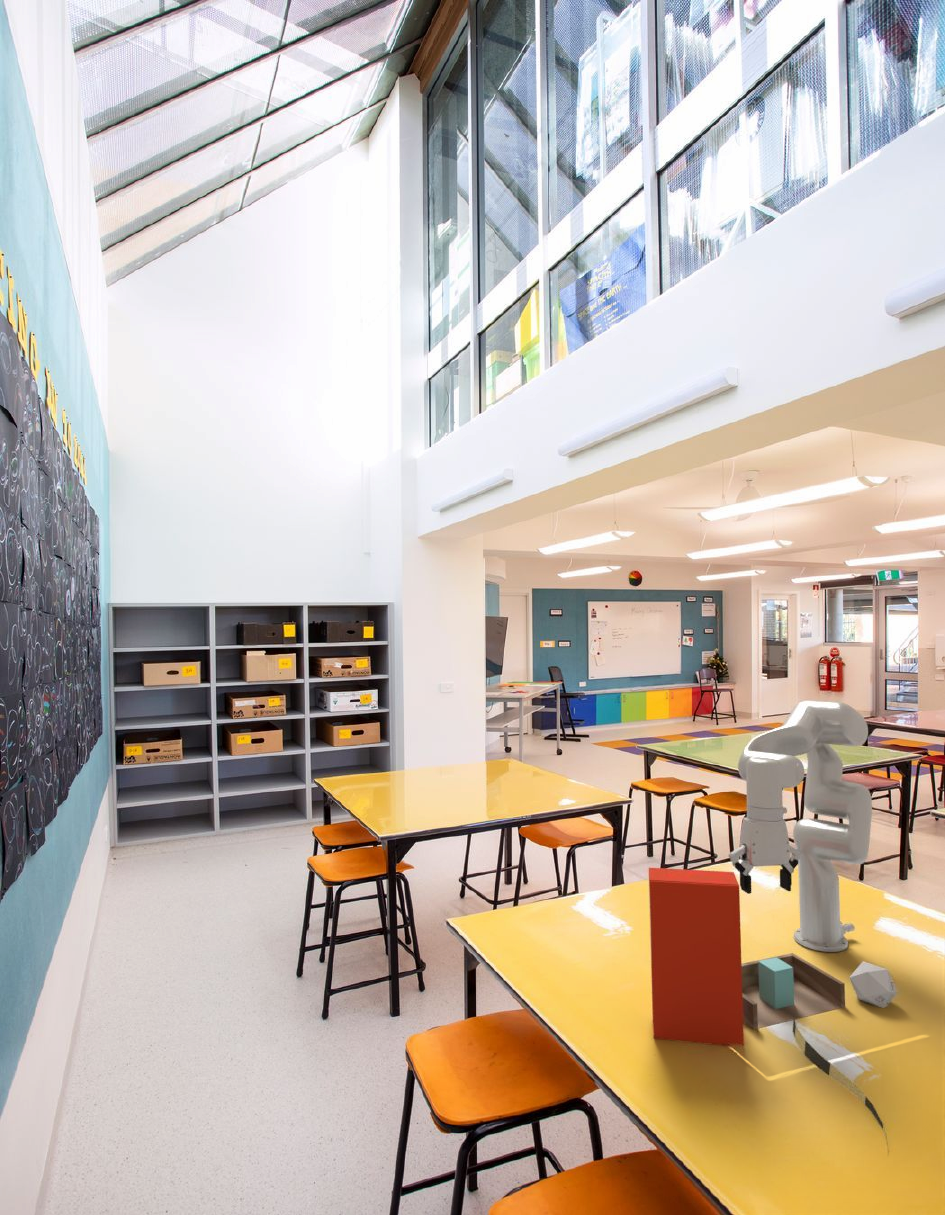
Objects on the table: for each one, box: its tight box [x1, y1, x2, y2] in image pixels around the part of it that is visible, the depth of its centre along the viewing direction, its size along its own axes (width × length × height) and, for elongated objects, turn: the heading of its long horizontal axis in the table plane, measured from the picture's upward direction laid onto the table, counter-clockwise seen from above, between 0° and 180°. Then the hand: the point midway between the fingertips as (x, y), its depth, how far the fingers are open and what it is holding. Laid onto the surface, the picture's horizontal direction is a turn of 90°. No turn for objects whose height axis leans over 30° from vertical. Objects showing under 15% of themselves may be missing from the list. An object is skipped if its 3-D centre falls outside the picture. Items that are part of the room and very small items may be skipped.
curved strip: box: [792, 1019, 890, 1152], centre depth 124 cm, size 6×39×4 cm, turn 175°
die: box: [848, 960, 899, 1009], centre depth 155 cm, size 8×9×10 cm
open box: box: [741, 952, 846, 1030], centre depth 155 cm, size 24×15×6 cm, turn 108°
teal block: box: [758, 956, 794, 1009], centre depth 155 cm, size 5×5×8 cm
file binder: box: [648, 867, 745, 1047], centre depth 145 cm, size 8×17×32 cm, turn 77°
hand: (765, 890), depth 158 cm, fingers open, 9 cm apart
